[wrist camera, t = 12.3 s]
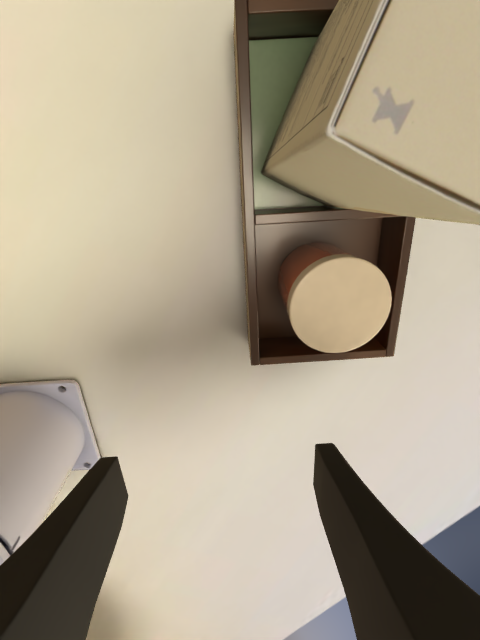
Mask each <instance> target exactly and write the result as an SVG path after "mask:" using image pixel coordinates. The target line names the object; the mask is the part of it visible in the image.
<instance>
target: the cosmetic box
mask: <svg viewBox="0 0 480 640" xmlns="http://www.w3.org/2000/svg"><path fill="white" fill-rule="evenodd" d="M261 173H262V175H264V176H266V177H268V178H270V179H272V180H274V181H276V182H277V183H279V184H281V185H283V186H285V187H287V188H289V189H292V190H294V191H296V192H298V193H300V194H302V195H304V196H306V197H308V198H310V199H313V200H315V201H317V202H319V203H322V204H324V205H326V206H329V207H338V208H344V209H352V210H360V211H367V212H375V213H383V214H392V215H399V216H408V217H416V218H424V219H433V220H441V221H450V222H460V223H469V224H478V225H480V0H339V1H338V3H337V5H336V7H335V8H334V10H333V12H332V14H331V16H330V17H329V19H328V21H327V23H326V25H325V26H324V28H323V30H322V32H321V34H320V35H319V37H318V39H317V41H316V42H315V44H314V46H313V49H312V51H311V53H310V55H309V58H308V60H307V62H306V64H305V67H304V69H303V71H302V73H301V76H300V78H299V80H298V83H297V85H296V87H295V90H294V92H293V94H292V97H291V99H290V101H289V104H288V106H287V108H286V111H285V113H284V116H283V118H282V120H281V123H280V125H279V128H278V130H277V133H276V135H275V138H274V140H273V142H272V145H271V147H270V150H269V153H268V155H267V158H266V160H265V163H264V165H263V168H262V172H261Z"/></svg>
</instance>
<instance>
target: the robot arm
mask: <svg viewBox="0 0 480 640" xmlns="http://www.w3.org/2000/svg"><path fill="white" fill-rule="evenodd" d="M61 386H64V387H65V388H66V389H63V388H62V387H61ZM88 469H90V470H89V471H88V472H87V474H86V475H85V476H84V477H83V478H82V479H81V481H80V482H79V483H78V484H77V485H76V486H75V488H74V489H73V490H72V491H71V492H70V493H69V494H68V496H67V497H66V498H65V499H64V500H63V501H62V502H61V503H60V505H59V506H58V507H57V508H56V509H55V510H54V511H53V512H52V513H51V515H50V516H49V517H48V518H47V519H46V520H45V521H44V519H45V517H46V515H47V513H48V511H49V510H50V508H51V506H52V504H53V502H54V501H55V499H56V497H57V495H58V493H59V491H60V490H61V488H62V486H63V484H64V482H65V481H66V479H67V477H68V475H69V473H70V471H73V470H88ZM313 485H314V490H315V495H316V499H317V504H318V508H319V513H320V516H321V520H322V523H323V526H324V529H325V532H326V535H327V538H328V541H329V544H330V547H331V551H332V554H333V557H334V560H335V563H336V566H337V569H338V572H339V575H340V578H341V581H342V584H343V587H344V591H345V594H346V598H347V601H348V605H349V609H350V613H351V617H352V621H353V625H354V629H355V633H356V637H357V640H480V595H478V594H477V593H476V592H475V591H474V590H472V589H471V588H470V587H469V586H468V585H466V584H465V583H464V582H463V581H462V580H460V579H459V578H458V577H457V576H455V575H454V574H453V573H452V572H451V571H450V570H449V569H447V568H446V567H445V566H444V565H443V564H442V563H441V562H439V561H438V560H437V559H436V558H435V557H434V556H433V555H432V554H431V553H430V552H429V551H428V550H426V549H425V548H424V547H423V546H422V545H421V544H420V543H419V542H418V541H417V540H416V539H415V538H414V537H413V536H412V535H411V534H410V533H409V532H408V531H407V530H406V529H405V528H404V527H403V526H402V525H401V524H400V523H399V522H398V521H397V520H396V519H395V518H394V517H393V516H392V514H391V513H390V512H389V511H388V510H387V509H386V508H385V507H384V506H383V505H382V504H381V502H380V501H379V500H378V499H377V498H376V497H375V496H374V494H373V493H372V492H371V491H370V490H369V488H368V487H367V486H366V485H365V484H364V483H363V481H362V480H361V479H360V478H359V476H358V475H357V474H356V473H355V471H354V470H353V469H352V468H351V466H350V465H349V464H348V462H347V461H346V460H345V458H344V457H343V456H342V454H341V453H340V452H339V450H338V449H337V447H336V446H335V445H334V444H333V443H326V444H316V445H315V464H314V482H313ZM127 500H128V493H127V490H126V486H125V482H124V479H123V475H122V472H121V468H120V464H119V461H118V457H103V458H101V456H100V453H99V450H98V446H97V443H96V440H95V436H94V433H93V430H92V427H91V423H90V420H89V417H88V413H87V410H86V407H85V403H84V400H83V397H82V394H81V390H80V387H79V384H78V383H77V382H76V381H74V380H55V381H39V382H24V383H8V384H0V640H86V636H87V632H88V628H89V624H90V620H91V617H92V614H93V611H94V607H95V604H96V601H97V598H98V595H99V592H100V589H101V586H102V583H103V580H104V578H105V575H106V572H107V569H108V566H109V563H110V560H111V557H112V554H113V551H114V548H115V545H116V542H117V539H118V536H119V533H120V530H121V527H122V523H123V518H124V514H125V509H126V505H127ZM43 521H44V522H43ZM42 522H43V523H42Z"/></svg>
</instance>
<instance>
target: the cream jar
mask: <svg viewBox="0 0 480 640" xmlns="http://www.w3.org/2000/svg"><path fill="white" fill-rule="evenodd" d="M277 287H278V292H279V295H280V297H281V299H282V301H283V304H284V306H285V308H286V310H287V313H288V318H289V321H290V323H291V326H292V328H293V330H294V332H295V333H296V335H297V336H298V337H299V339H300V340H301V341H302V342H303V343H305V344H306V345H307V346H309V347H311V348H313V349H315V350H318V351H322V352H327V353H341V352H346V351H350V350H353V349H356V348H358V347H360V346H362V345H364V344H365V343H367V342H368V341H369V340H371V339H372V338H373V337H374V336H375V335H376V334H377V333H378V332H379V331H380V330H381V328H382V327H383V325H384V324H385V322H386V320H387V318H388V315H389V312H390V308H391V300H392V297H391V289H390V285H389V283H388V280H387V279H386V277H385V275H384V274H383V273H382V271H381V270H380V269H379V268H378V267H376V266H375V265H374V264H372V263H371V262H369V261H367V260H365V259H363V258H361V257H358V256H355V255H352V254H350V253H348V252H346V251H344V250H343V249H341V248H339V247H337V246H335V245H333V244H331V243H327V242H311V243H307V244H305V245H302V246H300V247H298V248H297V249H295V250H294V251H292V252H291V253H290V254H289V255H288V256H287V258H286V259H285V260H284V262H283V263H282V265H281V267H280V270H279V273H278V278H277Z"/></svg>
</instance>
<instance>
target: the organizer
mask: <svg viewBox="0 0 480 640" xmlns="http://www.w3.org/2000/svg"><path fill="white" fill-rule="evenodd" d="M338 1H339V0H235V3H234V31H233V35H234V56H235V77H236V98H237V119H238V140H239V161H240V181H241V202H242V223H243V244H244V265H245V286H246V306H247V327H248V344H249V352H250V360H251V365H259V364H260V365H266V364H282V363H298V362H313V361H329V360H344V359H360V358H376V357H391V356H394V351H395V344H396V338H397V332H398V326H399V319H400V313H401V307H402V300H403V294H404V288H405V281H406V275H407V269H408V263H409V256H410V250H411V244H412V237H413V231H414V225H415V218H416V217H408V216H399V215H392V214H383V213H375V212H367V211H360V210H352V209H344V208H338V207H329V206H326V205H324V204H322V203H319V202H317V201H315V200H313V199H310V198H308V197H306V196H304V195H302V194H300V193H298V192H296V191H294V190H292V189H289V188H287V187H285V186H283V185H281V184H279V183H277V182H276V181H274V180H272V179H270V178H268V177H266V176H264V175H262V173H261V172H262V168H263V165H264V163H265V160H266V158H267V155H268V153H269V150H270V147H271V145H272V142H273V140H274V138H275V135H276V133H277V130H278V128H279V125H280V123H281V120H282V118H283V116H284V113H285V111H286V108H287V106H288V104H289V101H290V99H291V97H292V94H293V92H294V90H295V87H296V85H297V83H298V80H299V78H300V76H301V73H302V71H303V69H304V67H305V64H306V62H307V60H308V58H309V55H310V53H311V51H312V49H313V46H314V44H315V42H316V41H317V39H318V37H319V35H320V34H321V32H322V30H323V28H324V26H325V25H326V23H327V21H328V19H329V17H330V16H331V14H332V12H333V10H334V8H335V7H336V5H337V3H338ZM311 242H327V243H331V244H333V245H335V246H337V247H339V248H341V249H343V250H344V251H346V252H348V253H350V254H352V255H355V256H358V257H361V258H363V259H365V260H367V261H369V262H371V263H372V264H374V265H375V266H376V267H378V268H379V269H380V270H381V271H382V273H383V274H384V275H385V277H386V279H387V280H388V283H389V285H390V289H391V297H392V300H391V308H390V312H389V315H388V318H387V320H386V322H385V324H384V325H383V327H382V328H381V330H380V331H379V332H378V333H377V334H376V335H375V336H374V337H373V338H372V339H371V340H369V341H368V342H367V343H365V344H364V345H362V346H360V347H358V348H356V349H353V350H350V351H346V352H341V353H327V352H322V351H318V350H315V349H313V348H311V347H309V346H307V345H306V344H305V343H303V342H302V341H301V340H300V339H299V337H298V336H297V335H296V333H295V332H294V330H293V328H292V326H291V323H290V321H289V318H288V313H287V310H286V308H285V306H284V304H283V301H282V299H281V297H280V295H279V292H278V287H277V278H278V273H279V270H280V267H281V265H282V263H283V262H284V260H285V259H286V258H287V256H288V255H289V254H290V253H291V252H292V251H294V250H295V249H297V248H298V247H300V246H302V245H305V244H307V243H311Z"/></svg>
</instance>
